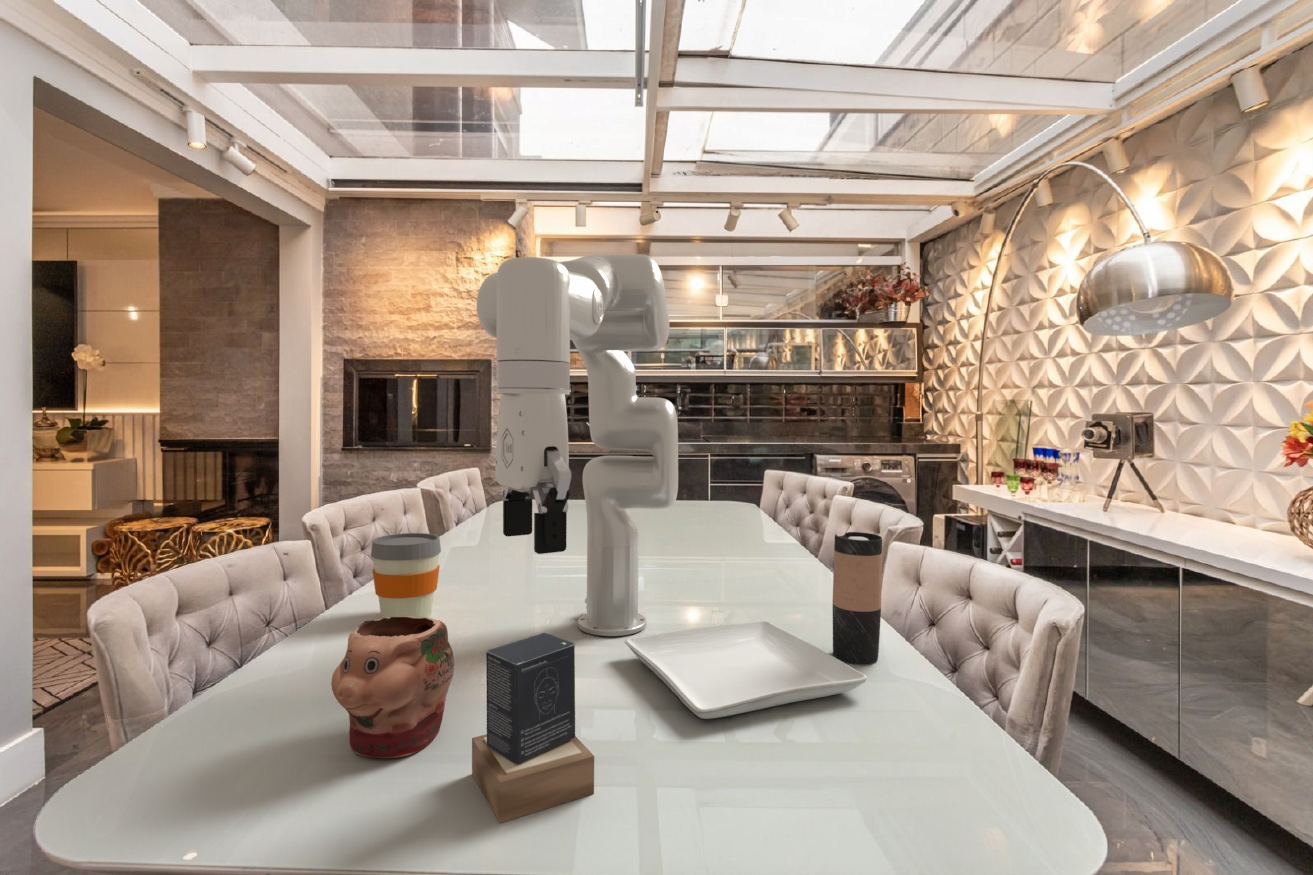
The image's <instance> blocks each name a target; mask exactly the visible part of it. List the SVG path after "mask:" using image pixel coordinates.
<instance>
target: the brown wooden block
mask: <svg viewBox="0 0 1313 875" xmlns="http://www.w3.org/2000/svg"><path fill="white" fill-rule="evenodd" d="M471 775H472V776H473V779H474V780H475V782H476V783H477V785H478V787H479V789H480V790H481V793H482V794H483V796H484V798H485V799H486V801H487V803H488V805H489V807H490V808H491V810H492V811H493V814H494V815H495V817H496V819H497V820H498V822H499V823H500V824H501V823H502V824H503V823H505V822H508V821H512V820H514V819H519V818H521V817H524V816H528V815H532V814H533V813H537V812H540V811H543V810H547V809H549V808H553V807H557V806H559V805H562V804H565V803H569V802H572V801H574V800H579V799H580V798H581V799H582V798H585V797H588V796H592V795H593V794H595V755H594V754H593V753H592V752H591V751H590V750H589V749H588V748H587V747H586V745H585V744H584V743H583V742H582V741H581V740H580V739H579V738H578V737H577V736H576V735H575V738H573V739H571V740H569V741H566V742H564V743H562V744H560V745H558V746H556V747H554V748H552V749H550V750H548V751H546V752H543V753H541V754H539V755H537V756H535V757H533V758H531V759H529V760H527V761H525V762H523V763H521V764H518V765H516V764H514V763H512V762H511V761H509V760H507V759H506V758H504V757H503V756H501V755H499V754H498V753H496V752H495V751H493V750H491V749H490V748H488V746H487V733H486V734H483V735H479V736H474V737H471Z"/></svg>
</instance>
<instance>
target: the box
mask: <svg viewBox="0 0 1313 875" xmlns="http://www.w3.org/2000/svg"><path fill="white" fill-rule="evenodd" d="M575 645H576V644H575V643H574V642H572V641H568V640H566V639H563V638H560V637H558V636H556V635H552V634H549V633H546V632H542V633H540V634H539V633H538V634H535V635H533V636H530V637H527V638H522V639H520V640H516V641H514V642H511V643H506V644H504V645H501V646H500V645H499V646H498V647H495V648H491V649H487V650H486V652H485V656H486V734H487V746H488V748H490V749H491V750H493V751H495V752H496V753H498V754H499V755H501V756H503V757H504V758H506V759H507V760H509V761H511V762H512V763H514V764H516V765H518V764H521V763H523V762H525V761H527V760H529V759H531V758H533V757H535V756H537V755H539V754H541V753H543V752H546V751H548V750H550V749H552V748H554V747H556V746H558V745H560V744H562V743H564V742H566V741H569V740H571V739H573V738H575V736H576V679H575V678H576V675H575V674H576V673H575V672H576V671H575V669H576V665H575V663H576V662H575V661H576V660H575V658H576V657H575V656H576V655H575V654H576V653H575V648H576V646H575Z"/></svg>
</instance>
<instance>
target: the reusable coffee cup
mask: <svg viewBox="0 0 1313 875" xmlns="http://www.w3.org/2000/svg"><path fill="white" fill-rule="evenodd" d="M371 541H372V542H371V543H372V544H371V552H370V557H371V558H372V559H373V560H372V561H373V569H372V577H373V578H372V580H373V586H374V591H375V595H376V596H377V597H378V602H379V610H380V615H381V618H387V617H399V616H415V617H427V618H431V616H432V612H433V611H432V610H433V602H434V596H435V591H437V589H438V582H439V574H440V565H439V557H440V554H441V552H442V550H441V549H442V547H441V541H440V536H439V535H437V534H435V533H433V534H432V533H424V532H423V533H421V532H407V533H406V532H405V533H394V534H389V535H382V536H378V537H376V538H374V539H373V540H371ZM381 618H380V619H381Z"/></svg>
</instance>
